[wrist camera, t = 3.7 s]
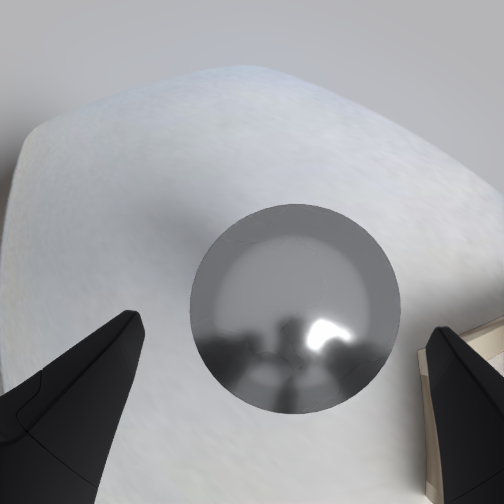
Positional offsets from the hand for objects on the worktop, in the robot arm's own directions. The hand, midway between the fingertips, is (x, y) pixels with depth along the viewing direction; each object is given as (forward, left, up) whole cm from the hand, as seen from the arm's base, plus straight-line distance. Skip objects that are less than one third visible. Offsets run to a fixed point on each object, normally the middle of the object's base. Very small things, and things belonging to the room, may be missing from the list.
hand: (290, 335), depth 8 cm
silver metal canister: (0, +1, -8) cm, 8 cm away
